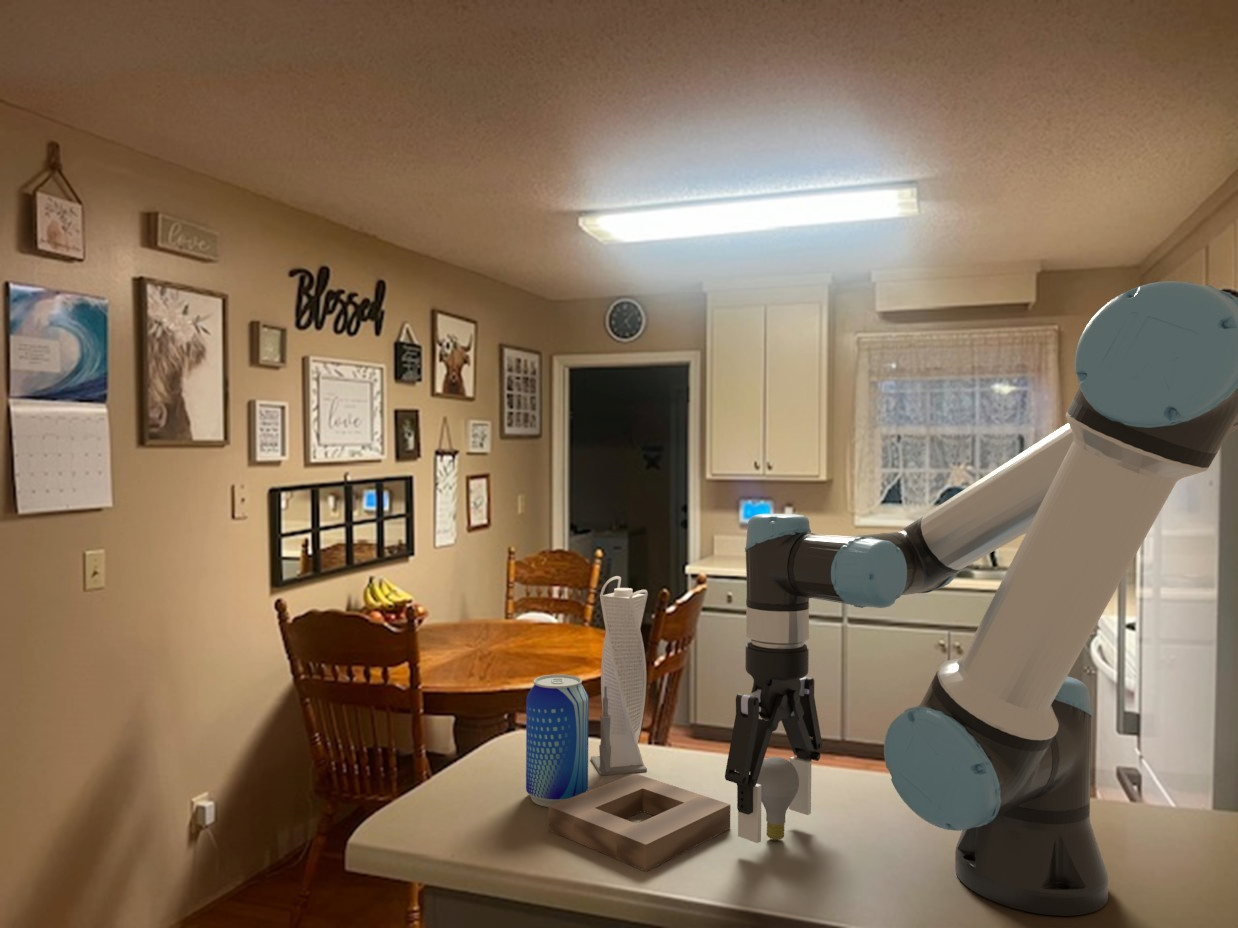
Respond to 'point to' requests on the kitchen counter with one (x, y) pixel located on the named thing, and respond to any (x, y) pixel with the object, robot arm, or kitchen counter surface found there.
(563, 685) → the beer can
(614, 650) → the skyscraper
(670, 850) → the holder
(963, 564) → the robot arm
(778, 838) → the light bulb
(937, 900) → the kitchen counter surface
